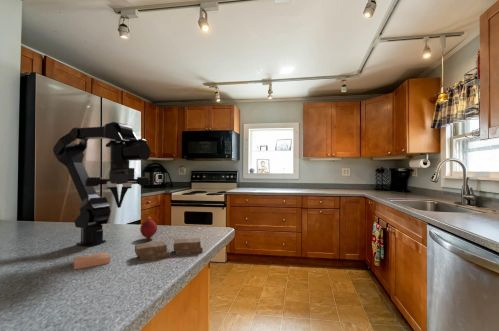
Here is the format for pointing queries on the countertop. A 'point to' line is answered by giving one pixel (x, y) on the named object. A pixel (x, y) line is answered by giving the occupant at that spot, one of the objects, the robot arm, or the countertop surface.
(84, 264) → the loose domino
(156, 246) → the domino
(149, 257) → the domino
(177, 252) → the domino
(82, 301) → the countertop surface
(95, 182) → the robot arm
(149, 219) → the pomegranate
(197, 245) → the domino
